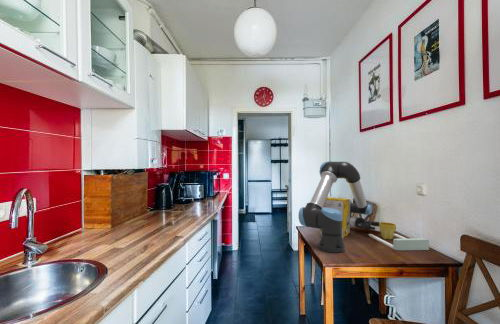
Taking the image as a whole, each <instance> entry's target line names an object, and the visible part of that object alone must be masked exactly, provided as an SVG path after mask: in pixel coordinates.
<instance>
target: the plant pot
mask: <svg viewBox="0 0 500 324" xmlns="http://www.w3.org/2000/svg"><path fill="white" fill-rule="evenodd" d="M379 222H380V223H379V226H378V227H380V235H381V239H383V240H393V239H394V236H393V235H394V234H395V231H396V230H397V224H396V223H393V222H387V221H386V222H385V221H379Z"/></svg>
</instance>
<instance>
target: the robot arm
mask: <svg viewBox="0 0 500 324" xmlns="http://www.w3.org/2000/svg"><path fill="white" fill-rule="evenodd" d="M319 175H320V180H319V182H318V185H317V186H316V189H315V191H314V193H313V195H312V197H311V200H310V201H309V202H307V203H306V204H305V206H302V207H300V209H299V210H298V221H299V223H300V225H301V226H302V227H306V228H313V229H318V230H320V229H321V231H322V232H321V235H320V238H319V241H318V245H317V246H318V247H317V248H318V249H319V250H321V251H322V252H327V253H335V254H336V253H343V252H344V251H346V244H345V243H344V238H342V213H341V212H340V211H339V210H336V209H332V208H323V206H324V204H325V201H326V199H327V198H328V197H329V194H330V192H331V190H332V188H333V185H334V184H335V183H337V182H338V179H344V180H345V182H346V183H348V185H349V188H350V191H351V194H352V196H353V199H354V202H353V201H352V200H351V199H350V227H353V228H358V229H365V230H368V231H375V232H376V231H377V232H381V230H380V227H379V223H380V222H381V221H371V220H365V218H363V217H360V216H359V217H358V216H353V214H359V215H365V216H366V215H368V216H369V215H371V214H372V213H373V206H372V205H371V204H368V202H367V200H366V195H365V193H364V190H363V187H362V184H361V183H362V182H361V174H360V172H359V171H358V169H357V168H356V167H355V166H354V164H351V163H350V162H348V161H330V160H329V161H324V162H323V163H321V165H320V167H319Z"/></svg>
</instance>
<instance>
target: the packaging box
mask: <svg viewBox="0 0 500 324" xmlns="http://www.w3.org/2000/svg"><path fill="white" fill-rule="evenodd" d="M350 200H351V199H350V198H340V197H330V196H328V197H327V199H326V201H325V204H324V206H323V208H332V209H336V210H339V211H340V212H341V213H342V238H343V239H345V238H346V237H347V236H349V235H350V234H351V226H350ZM321 232H322V231H321V229H319V235H320V234H321ZM349 233H350V234H349ZM348 234H349V235H348ZM345 236H346V237H345ZM344 237H345V238H344Z"/></svg>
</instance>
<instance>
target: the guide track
mask: <svg viewBox="0 0 500 324" xmlns="http://www.w3.org/2000/svg"><path fill="white" fill-rule="evenodd" d="M368 236H369V237H370V238H372V239H374V240H376V241H378V242H380V243H381V244H383V245H385V246H387V247H389V248H391V249H393V250H395V251H429V250H430V239H428V238H427V237H426V238H422V237H421V238H420V237H419V238H413V237H412V238H407V237H405V236H402V235H401V234H397V233H394V235H393V237H395V238H393V239H392V240H393V241H392V243H390V242H388V241H386V240H385V239H383V238H380V237H378V236H376V235H374V234H372V233H368Z"/></svg>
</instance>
